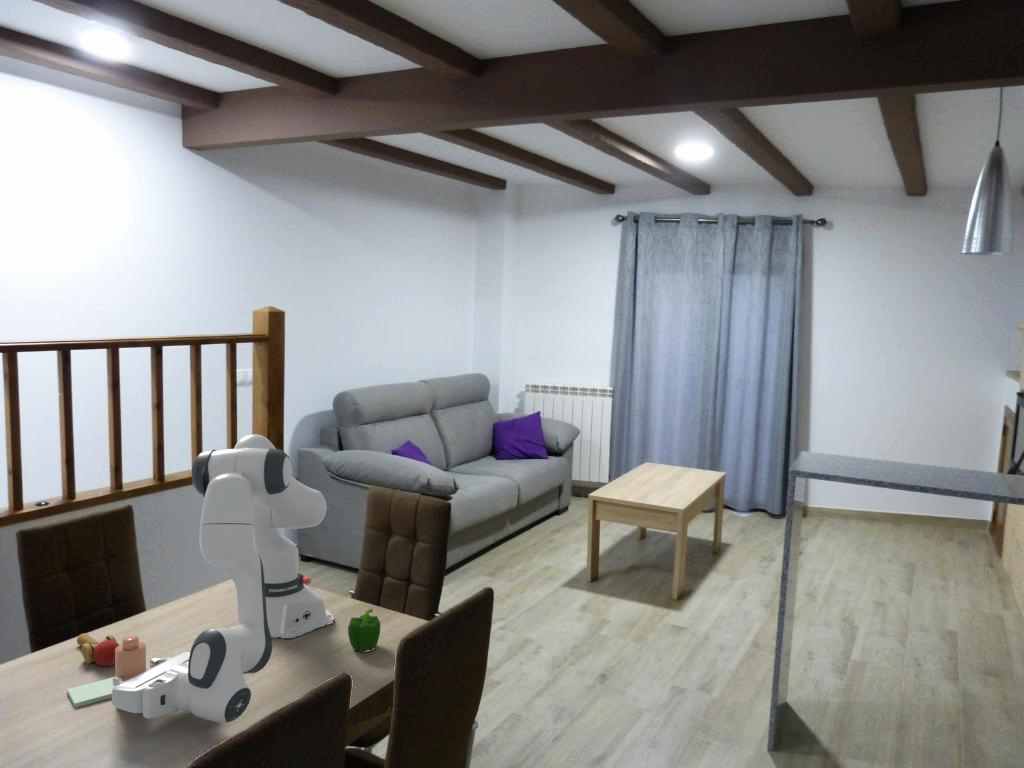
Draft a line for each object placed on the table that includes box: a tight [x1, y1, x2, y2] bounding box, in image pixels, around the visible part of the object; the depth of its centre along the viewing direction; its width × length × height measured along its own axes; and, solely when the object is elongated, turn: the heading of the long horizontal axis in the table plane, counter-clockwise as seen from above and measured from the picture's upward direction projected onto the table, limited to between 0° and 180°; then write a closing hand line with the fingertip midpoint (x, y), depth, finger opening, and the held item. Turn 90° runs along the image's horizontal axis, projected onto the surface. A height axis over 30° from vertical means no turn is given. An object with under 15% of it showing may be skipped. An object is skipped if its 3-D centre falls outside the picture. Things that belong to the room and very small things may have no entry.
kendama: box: [76, 632, 120, 667], centre depth 195 cm, size 8×6×18 cm
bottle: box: [114, 635, 147, 712], centre depth 174 cm, size 6×6×15 cm
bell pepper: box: [347, 608, 381, 652], centre depth 205 cm, size 8×8×10 cm
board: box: [66, 667, 151, 709], centre depth 181 cm, size 20×8×1 cm, turn 130°
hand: (134, 670), depth 173 cm, fingers open, 8 cm apart
